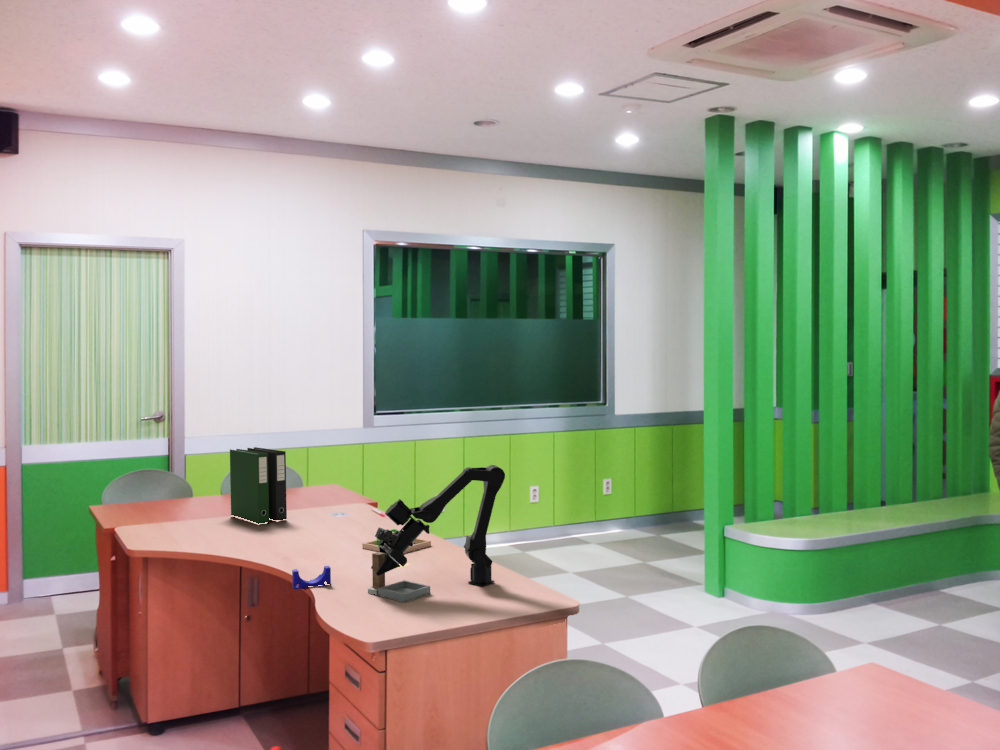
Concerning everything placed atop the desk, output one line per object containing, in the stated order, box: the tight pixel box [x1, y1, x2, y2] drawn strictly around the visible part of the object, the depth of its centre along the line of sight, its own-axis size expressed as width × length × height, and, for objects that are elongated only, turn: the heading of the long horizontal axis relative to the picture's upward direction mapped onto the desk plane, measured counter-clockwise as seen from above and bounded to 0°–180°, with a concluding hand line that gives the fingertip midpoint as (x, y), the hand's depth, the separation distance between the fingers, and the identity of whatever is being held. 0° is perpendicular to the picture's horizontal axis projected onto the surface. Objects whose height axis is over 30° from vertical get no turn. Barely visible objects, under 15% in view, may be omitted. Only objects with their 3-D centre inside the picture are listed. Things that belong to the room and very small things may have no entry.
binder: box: [229, 446, 288, 524], centre depth 394 cm, size 27×15×32 cm, turn 45°
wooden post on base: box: [367, 551, 387, 596], centre depth 273 cm, size 6×4×12 cm, turn 141°
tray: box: [377, 579, 431, 603], centre depth 270 cm, size 12×12×2 cm
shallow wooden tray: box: [361, 537, 432, 554], centre depth 335 cm, size 19×19×2 cm
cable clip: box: [291, 565, 332, 590], centre depth 282 cm, size 12×4×6 cm, turn 113°
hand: (374, 571), depth 273 cm, fingers open, 7 cm apart
